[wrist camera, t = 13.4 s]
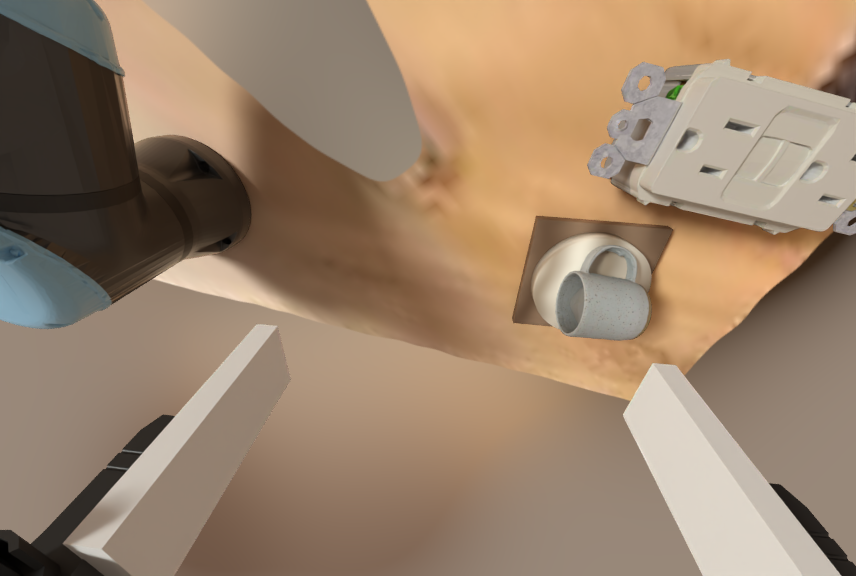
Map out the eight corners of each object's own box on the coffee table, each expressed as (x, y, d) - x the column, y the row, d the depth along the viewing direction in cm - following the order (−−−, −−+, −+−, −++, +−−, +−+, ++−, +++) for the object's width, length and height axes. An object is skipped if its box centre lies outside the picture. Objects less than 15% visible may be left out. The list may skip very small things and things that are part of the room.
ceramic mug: (611, 318, 43) (638, 358, 36) (549, 310, 43) (566, 348, 36) (646, 245, 37) (686, 276, 31) (576, 236, 38) (601, 265, 31)
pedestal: (512, 317, 49) (515, 333, 46) (536, 215, 40) (542, 225, 37) (620, 328, 48) (631, 344, 45) (667, 225, 40) (684, 237, 36)
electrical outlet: (599, 46, 31) (661, 30, 22) (853, 116, 33) (996, 125, 25) (549, 170, 37) (583, 195, 28) (768, 221, 39) (859, 258, 31)
